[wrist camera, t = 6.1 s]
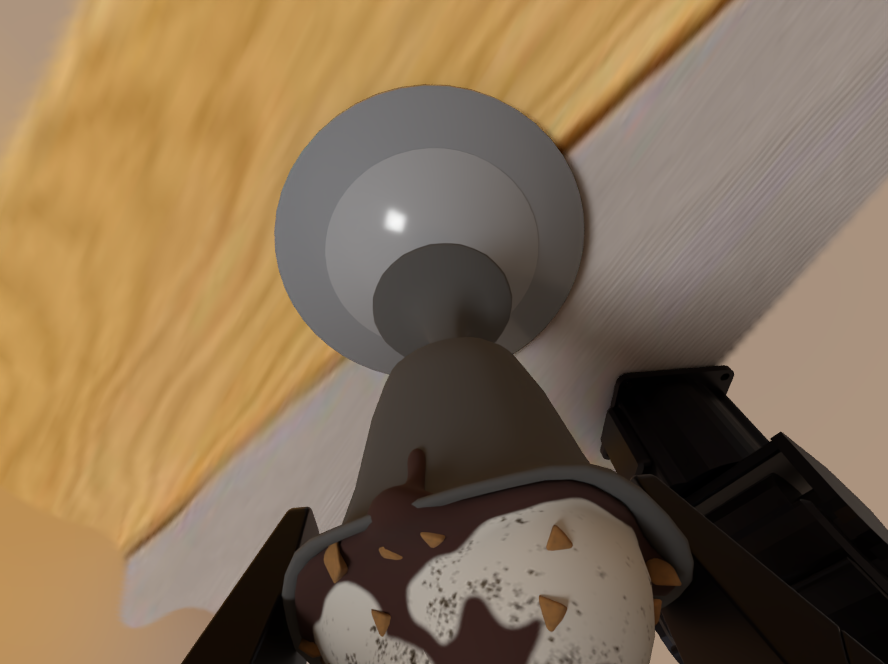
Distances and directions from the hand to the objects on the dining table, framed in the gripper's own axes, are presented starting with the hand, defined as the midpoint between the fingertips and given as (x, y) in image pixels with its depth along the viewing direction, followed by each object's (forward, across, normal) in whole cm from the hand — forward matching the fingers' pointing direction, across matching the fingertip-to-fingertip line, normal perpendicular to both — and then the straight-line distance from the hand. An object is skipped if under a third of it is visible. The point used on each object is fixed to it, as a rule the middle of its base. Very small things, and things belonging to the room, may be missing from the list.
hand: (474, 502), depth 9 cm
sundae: (+8, 0, 0) cm, 8 cm away
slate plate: (+13, 0, 0) cm, 13 cm away
